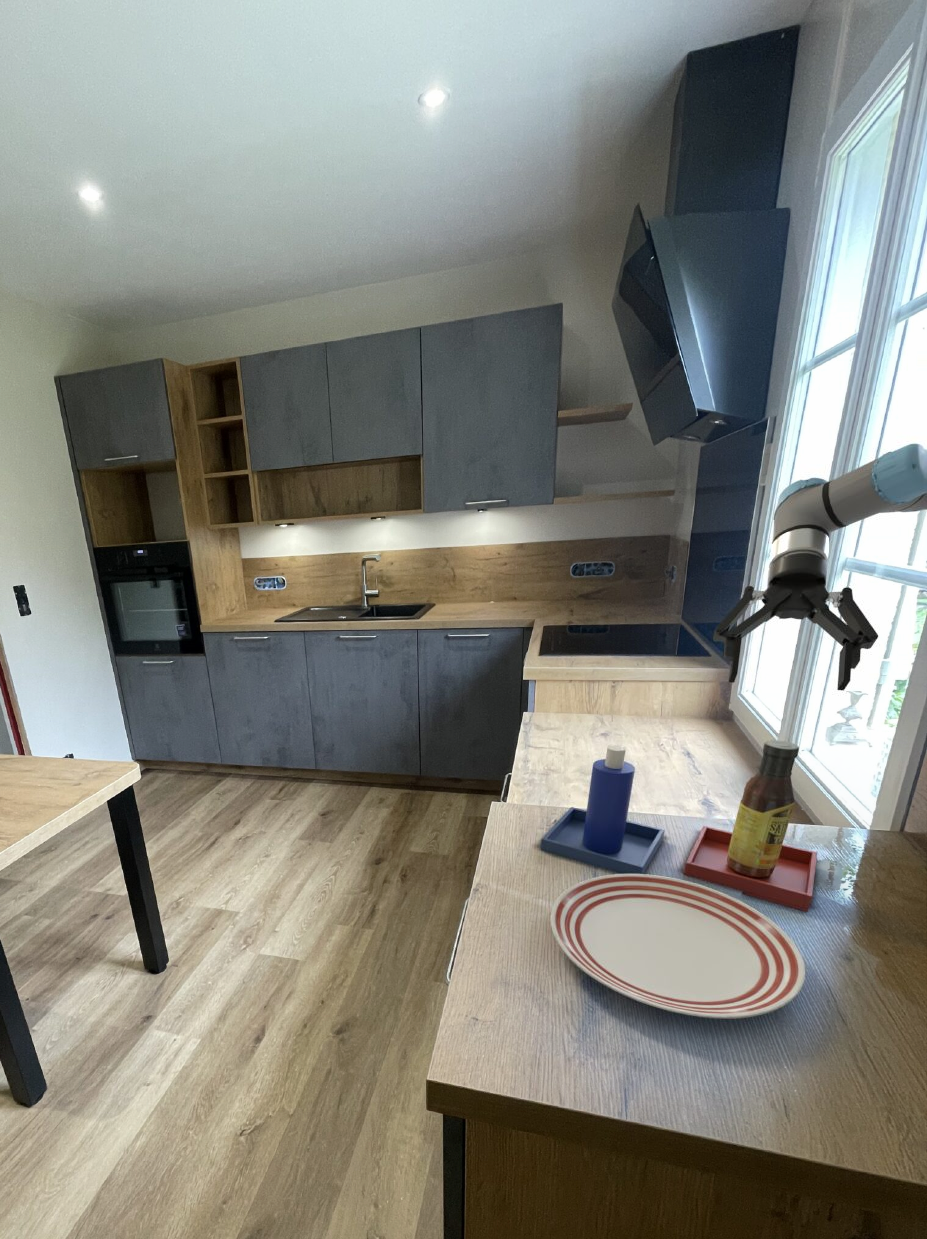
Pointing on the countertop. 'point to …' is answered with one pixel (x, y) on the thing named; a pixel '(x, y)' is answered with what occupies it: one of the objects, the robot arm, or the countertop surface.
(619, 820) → the blue bottle
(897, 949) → the countertop surface
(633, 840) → the blue tray
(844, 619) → the robot arm
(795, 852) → the red tray
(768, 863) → the sauce bottle
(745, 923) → the dinner plate
